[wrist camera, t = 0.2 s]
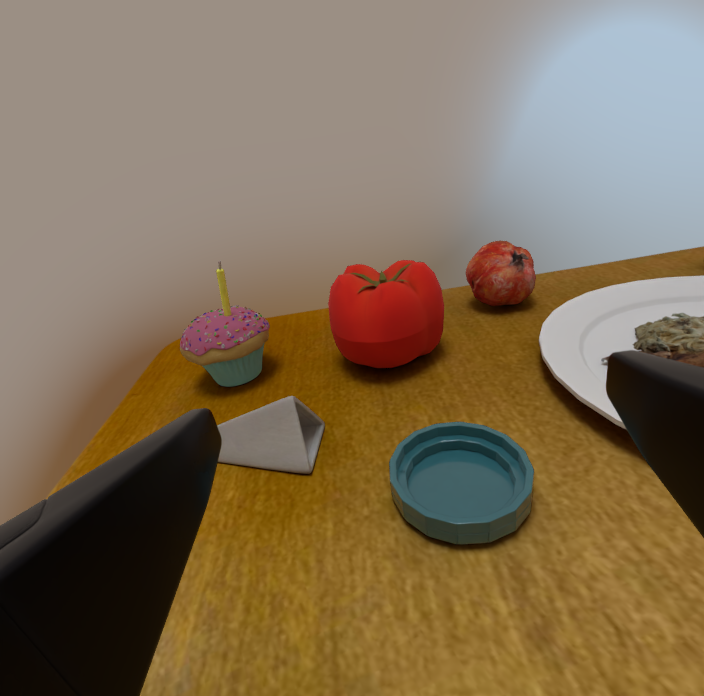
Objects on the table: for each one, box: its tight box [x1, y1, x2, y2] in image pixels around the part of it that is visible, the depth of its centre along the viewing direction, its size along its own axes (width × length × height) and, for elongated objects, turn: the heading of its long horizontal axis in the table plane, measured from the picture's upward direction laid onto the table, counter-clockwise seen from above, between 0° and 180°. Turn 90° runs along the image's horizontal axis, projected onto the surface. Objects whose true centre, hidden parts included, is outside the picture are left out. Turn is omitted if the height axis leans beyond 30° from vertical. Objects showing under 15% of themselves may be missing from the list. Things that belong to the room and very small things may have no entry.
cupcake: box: [180, 261, 269, 387], centre depth 39 cm, size 9×8×12 cm
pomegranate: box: [466, 241, 536, 306], centre depth 46 cm, size 7×7×10 cm
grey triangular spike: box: [217, 396, 325, 474], centre depth 30 cm, size 6×5×13 cm
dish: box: [389, 422, 534, 544], centre depth 24 cm, size 8×8×2 cm
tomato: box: [328, 260, 444, 368], centre depth 39 cm, size 11×12×9 cm
